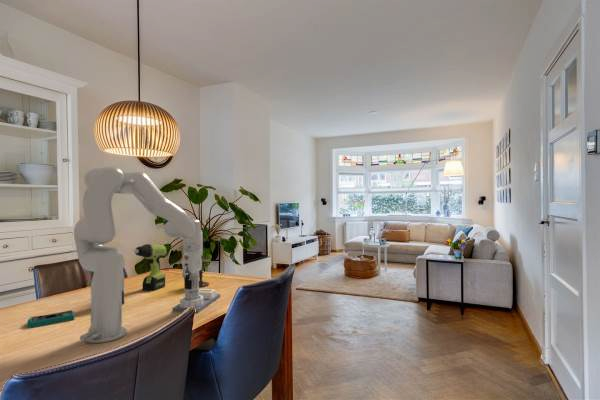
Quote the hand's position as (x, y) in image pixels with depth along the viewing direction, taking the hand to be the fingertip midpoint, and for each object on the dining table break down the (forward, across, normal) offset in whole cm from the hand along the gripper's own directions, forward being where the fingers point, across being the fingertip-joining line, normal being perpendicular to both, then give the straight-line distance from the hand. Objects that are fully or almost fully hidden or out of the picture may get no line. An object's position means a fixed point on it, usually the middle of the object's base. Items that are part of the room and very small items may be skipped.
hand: (191, 286), depth 148 cm
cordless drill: (+10, +24, +37) cm, 45 cm away
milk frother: (+10, -4, +36) cm, 38 cm away
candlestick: (+10, +38, +14) cm, 42 cm away
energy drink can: (+6, 0, 0) cm, 6 cm away
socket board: (+9, +6, 0) cm, 11 cm away
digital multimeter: (+10, -24, +47) cm, 54 cm away
